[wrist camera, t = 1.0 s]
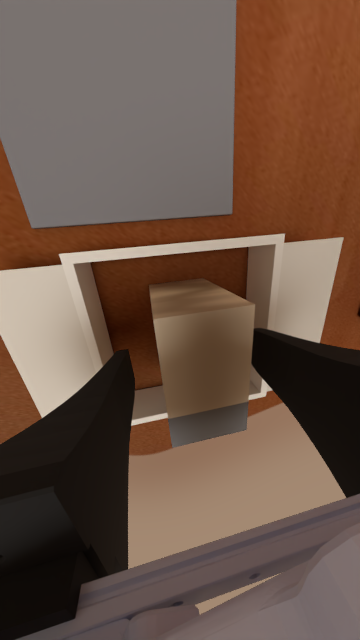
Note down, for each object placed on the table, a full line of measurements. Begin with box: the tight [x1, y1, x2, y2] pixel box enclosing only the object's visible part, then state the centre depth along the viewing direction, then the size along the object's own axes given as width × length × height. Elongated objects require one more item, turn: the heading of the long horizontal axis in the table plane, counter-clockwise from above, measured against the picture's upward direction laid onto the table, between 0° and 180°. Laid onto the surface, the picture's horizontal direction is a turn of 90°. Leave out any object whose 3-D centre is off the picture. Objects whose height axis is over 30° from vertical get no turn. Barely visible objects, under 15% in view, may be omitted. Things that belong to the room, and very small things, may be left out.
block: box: [149, 278, 255, 448], centre depth 11 cm, size 4×7×7 cm, turn 4°
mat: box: [0, 0, 236, 229], centre depth 10 cm, size 12×10×1 cm
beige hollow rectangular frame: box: [0, 234, 344, 425], centre depth 13 cm, size 20×12×3 cm, turn 94°
